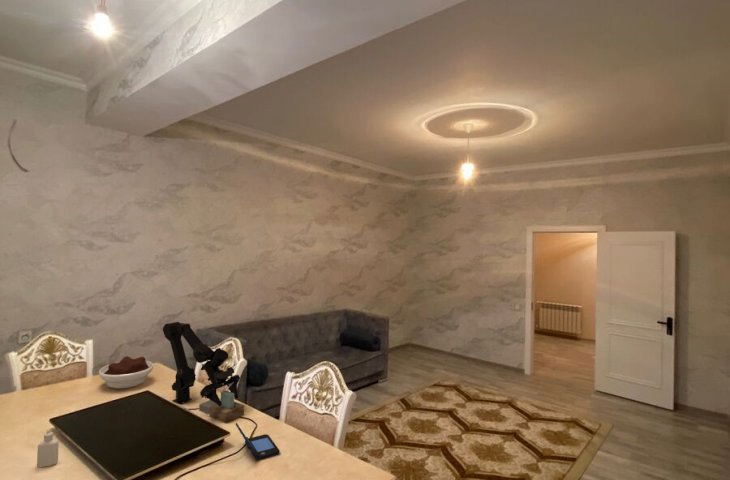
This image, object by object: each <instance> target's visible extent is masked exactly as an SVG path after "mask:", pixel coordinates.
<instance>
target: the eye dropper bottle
mask: <svg viewBox="0 0 730 480" xmlns="http://www.w3.org/2000/svg"><path fill="white" fill-rule="evenodd" d="M59 447H60V446H59V440H58V439H55V438H54V432H53V431H51V429H50V428H49V429H47V432H46V433H45V434H43V440H42V441H40V442H39V443H38V445H37V449H36V451H37V454H36V455H37V457H36V467H38V466H47V467H51V465H52V466H54V465H55V466H56V464H57V463H58V462H59Z"/></svg>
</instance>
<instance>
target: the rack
mask: <svg viewBox="0 0 730 480" xmlns="http://www.w3.org/2000/svg"><path fill="white" fill-rule="evenodd" d="M244 415H245V405H244V404H242V403H241V402H240V403H239V402H236V401H234V408H232V409H230V410H229V409H227V408H224V407H221V406H219V405H218V404H215V405H213V406H211V407H210V413H209V414H208V416H209V418H212V419H214V420H217V421H219V422H220V423H221V422H222V423H224V424H228V423H230V422H232V421H234V420H237V419H238V418H240V417H242V416H244Z"/></svg>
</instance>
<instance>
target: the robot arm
mask: <svg viewBox="0 0 730 480" xmlns="http://www.w3.org/2000/svg"><path fill="white" fill-rule="evenodd" d="M162 332H163V335H164V338H166V339H167V341H169V344H170V346H171V350H172V354H173V358H174V363H175V366H176V369H177V370H176V374H175V376H174V377H175V381H174V382H173V383H172V384H171V389H172V391H174V392H175V399H173V400H172V402H174V403H176V404H178V405H182V404H185V403H188V402H190V401H192V400H193V398H191V392H190V391H191V387H194V386H195V381H196V380H197V378H196V376H197V375H196V372H195V369H194V367H190V366H189V363H188V361H187V357H186V352H185V348H184V345H183V341H182V337H183V338H184V339H185V341H186V342H187V344H188V345H189V347H190V348H191V350H192V355H193V358H194V359H195V361H196V362H197V363H200V364H202V365H201V367H200V371H205V373H206V375H207V376H208V378H207V382H209V381H210V383H209V384H207V385H205V386H204V387H202V389H201V390H200V392H199V396H200V397H201V398H204V399H208V400H212V401H213V402H215V403H216V404H218V405H219V406H221V405H222V403H221V398H220V397H219V395H218V392H217V390H218V389H220V388H223V387H226V386H227V387H228V389H227V390H228V391H229V392H232V393H234V399H235V400H237V399H238V398H239V394H238V383H239V382H240V380H241V377H240V375H239V374H235V369H234V367H233V366H230V367H227V368H226V370H223V369H220V367H221V366H222V365H223V364H224V363H225V361H226V360H228V359H229V353H228V351H226V350H224V349H222V348H221V347H218V348H216V349H215V350H213V349H212V348H211V347H210V346H209V345H208V344H205V343H203V342H202V341H201V339H200V338H199V337H198V335H197V334H196V332H195V331H194V330H193V329H192V328H191V324H190V323H187V322H186V323H185V322H179V321H173V322H169V323H165V324H164V326H163V327H162ZM233 374H234V375H233Z"/></svg>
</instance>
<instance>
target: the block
mask: <svg viewBox="0 0 730 480" xmlns="http://www.w3.org/2000/svg"><path fill="white" fill-rule="evenodd" d="M220 401H221V403H222V405H221V407H224V408H227V409H229V410H230V409H232V408H234V402H235V397H234V393H232V392H230V390H222V391H220Z"/></svg>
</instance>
